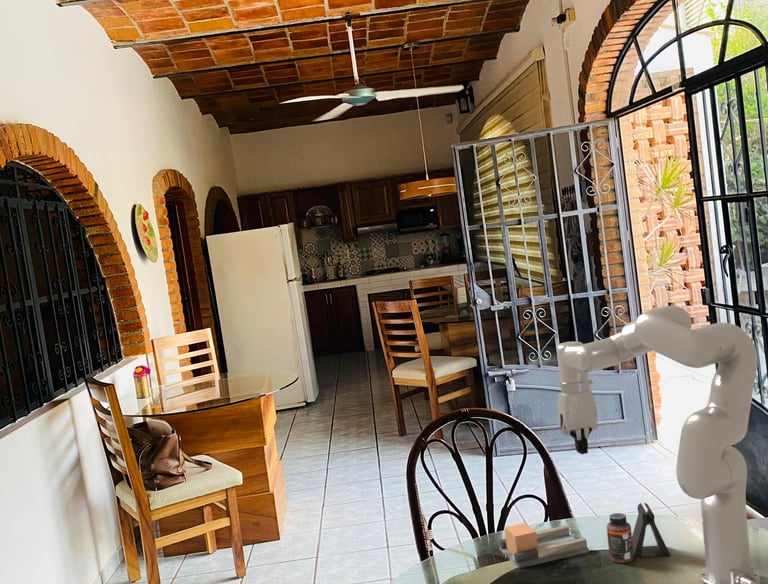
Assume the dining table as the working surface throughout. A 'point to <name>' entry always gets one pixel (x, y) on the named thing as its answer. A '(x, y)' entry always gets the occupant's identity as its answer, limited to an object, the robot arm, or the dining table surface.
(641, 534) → the dark a-frame stand
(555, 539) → the chute
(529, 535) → the block
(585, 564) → the dining table surface
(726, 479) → the robot arm
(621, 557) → the supplement bottle
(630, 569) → the dining table surface
